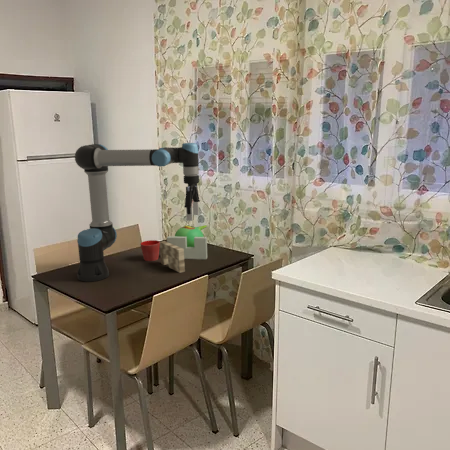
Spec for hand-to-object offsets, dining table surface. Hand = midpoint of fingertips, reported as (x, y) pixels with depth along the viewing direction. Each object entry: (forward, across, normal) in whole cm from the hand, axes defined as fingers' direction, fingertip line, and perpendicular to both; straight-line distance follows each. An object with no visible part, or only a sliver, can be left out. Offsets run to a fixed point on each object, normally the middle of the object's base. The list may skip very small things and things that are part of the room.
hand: (192, 217), depth 228 cm
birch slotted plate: (+28, +5, +13) cm, 31 cm away
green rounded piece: (+28, +41, +12) cm, 51 cm away
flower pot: (+28, +18, +29) cm, 44 cm away
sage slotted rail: (+28, +22, +9) cm, 37 cm away
